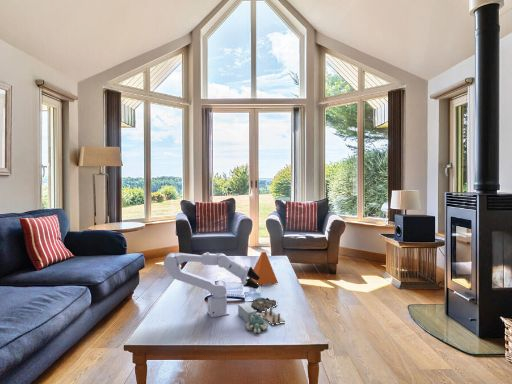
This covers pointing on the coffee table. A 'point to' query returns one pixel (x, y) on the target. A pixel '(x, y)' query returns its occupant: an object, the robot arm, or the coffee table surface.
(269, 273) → the pyramid
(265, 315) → the peg stand
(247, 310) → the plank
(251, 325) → the stuffed animal
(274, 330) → the coffee table surface
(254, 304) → the geode
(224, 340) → the coffee table surface
